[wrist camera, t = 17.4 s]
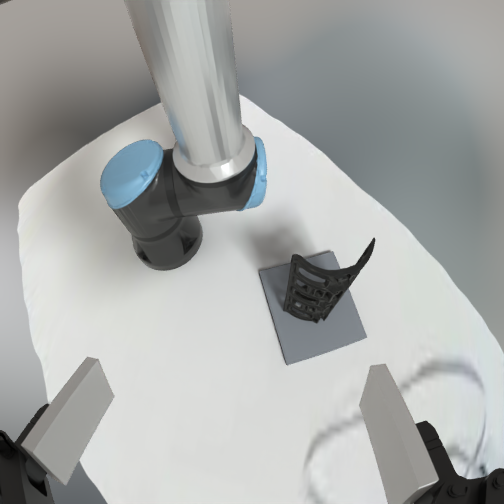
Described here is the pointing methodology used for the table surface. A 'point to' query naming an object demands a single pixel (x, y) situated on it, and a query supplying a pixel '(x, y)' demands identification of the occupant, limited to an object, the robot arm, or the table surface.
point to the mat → (307, 332)
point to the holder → (319, 287)
